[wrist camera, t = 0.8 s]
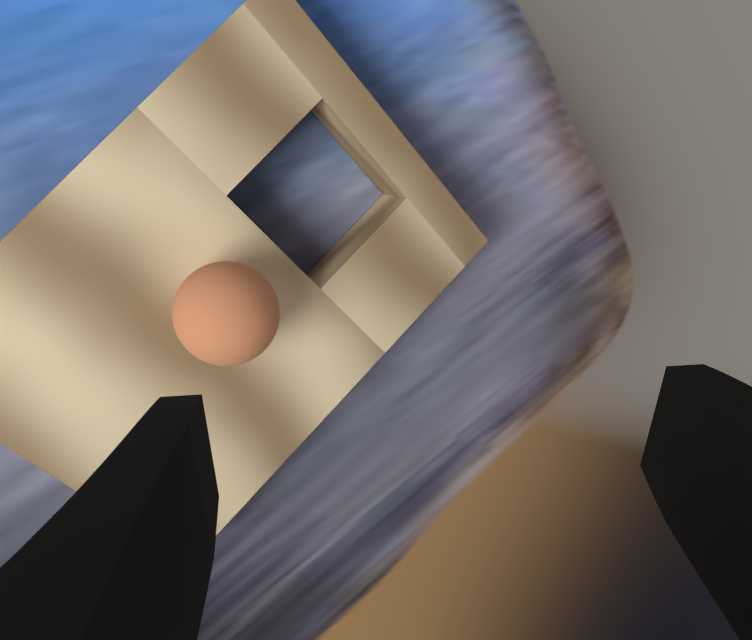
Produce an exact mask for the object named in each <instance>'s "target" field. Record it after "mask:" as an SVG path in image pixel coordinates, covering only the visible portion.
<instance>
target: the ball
mask: <svg viewBox="0 0 752 640" xmlns="http://www.w3.org/2000/svg"><path fill="white" fill-rule="evenodd" d="M172 320H173V326H174V330H175V332H176V335H177V337H178V338H179V340H180V342H181V343H182V345H183V346H184V347H185V348H186V349H187V350H188V351H189V352H190V353H191V354H192V355H193V356H195V357H196V358H198V359H200V360H202V361H204V362H206V363H209V364H212V365H217V366H234V365H239V364H243V363H246V362H248V361H251V360H252V359H254V358H256V357H257V356H259V355H260V354H261V353H262V352H263V351H264V350H266V348H267V347H268V346H269V345H270V343H271V342H272V340H273V339H274V336H275V334H276V332H277V329H278V326H279V321H280V308H279V302H278V298H277V296H276V293H275V291H274V289H273V287H272V286H271V284H270V283H269V282H268V280H267V279H266V278H265V277H264V276H263V275H262V274H260V273H259V272H258V271H256V270H255V269H253V268H251V267H249V266H247V265H245V264H241V263H238V262H232V261H221V262H214V263H210V264H207V265H205V266H202V267H200V268H199V269H197V270H195V271H194V272H193V273H191V274H190V275H189V276H188V277H187V278H186V279H185V280H184V281H183V283H182V284H181V285H180V287H179V289H178V291H177V293H176V295H175V298H174V301H173V307H172Z"/></svg>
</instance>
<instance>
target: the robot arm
mask: <svg viewBox="0 0 752 640" xmlns="http://www.w3.org/2000/svg"><path fill="white" fill-rule="evenodd" d="M640 466H641V468H642V470H643V473H644V475H645V477H646V480H647V482H648V484H649V487H650V489H651V491H652V494H653V496H654V498H655V500H656V502H657V504H658V506H659V509H660V511H661V513H662V515H663V517H664V519H665V521H666V523H667V525H668V526H669V528H670V530H671V531H672V533H673V535H674V536H675V538H676V540H677V541H678V543H679V544H680V546H681V547H682V549H683V551H684V552H685V554H686V556H687V557H688V559H689V560H690V562H691V564H692V565H693V567H694V568H695V570H696V572H697V573H698V575H699V576H700V578H701V580H702V581H703V583H704V584H705V586H706V588H707V589H708V591H709V592H710V594H711V595H712V597H713V598H714V600H715V602H716V603H717V605H718V606H719V608H720V610H721V611H722V613H723V614H724V616H725V617H726V619H727V621H728V622H729V624H730V625H731V627H732V628H733V630H734V632H735V633H736V635H737V636H738V638H739V640H752V387H751V386H749V385H747V384H745V383H743V382H741V381H739V380H737V379H735V378H733V377H731V376H729V375H726V374H725V373H723V372H720V371H718V370H716V369H714V368H711V367H709V366H706V365H704V364H699V365H683V366H667V367H666V370H665V374H664V378H663V382H662V385H661V389H660V393H659V397H658V400H657V404H656V408H655V412H654V415H653V420H652V423H651V427H650V431H649V435H648V438H647V442H646V446H645V450H644V453H643V458H642V461H641V465H640ZM218 504H219V493H218V487H217V481H216V475H215V469H214V463H213V457H212V451H211V445H210V440H209V434H208V428H207V422H206V416H205V410H204V404H203V398H202V394H199V395H183V396H166V397H159V398H158V399H157V401H156V402H155V403H154V404H153V405H152V406H151V407H150V408H149V409H148V410H147V412H146V413H145V414H144V415H143V416H142V417H141V419H140V420H139V421H138V422H137V423H136V424H135V426H134V427H133V428H132V429H131V430H130V432H129V433H128V434H127V435H126V436H125V437H124V439H123V440H122V441H121V442H120V443H119V444H118V445H117V447H116V448H115V449H114V450H113V451H112V452H111V454H110V455H109V456H108V457H107V458H106V459H105V460H104V462H103V463H102V464H101V465H100V466H99V467H98V468H97V469H96V470H95V472H94V473H93V474H92V475H91V476H90V477H89V478H88V479H87V480H86V481H85V483H84V484H83V485H82V486H81V487H80V488H79V489H78V490H77V491H76V492H75V494H74V495H73V496H72V497H71V498H70V499H69V500H68V501H67V502H66V503H65V504H64V505H63V506H62V507H61V508H60V509H59V510H58V511H57V512H56V513H55V514H54V515H53V516H52V518H51V519H50V520H49V521H48V522H47V523H46V524H45V525H44V526H43V527H42V528H41V529H40V530H39V531H38V532H37V533H36V534H35V535H34V536H33V537H32V538H31V539H30V540H29V541H28V542H27V543H26V544H25V545H24V546H23V547H22V548H21V549H20V550H19V551H18V552H17V553H16V554H14V555H13V556H12V557H11V558H10V559H9V560H8V561H7V562H6V563H5V564H4V565H3V566H2V567H1V568H0V640H197V637H198V632H199V627H200V623H201V618H202V613H203V608H204V604H205V599H206V594H207V589H208V584H209V579H210V575H211V569H212V564H213V559H214V550H215V539H216V529H217V516H218Z"/></svg>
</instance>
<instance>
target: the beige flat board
mask: <svg viewBox="0 0 752 640" xmlns="http://www.w3.org/2000/svg"><path fill="white" fill-rule="evenodd" d="M310 110H311V111H312V113H313V114H314V115H315V116H316V117H317V118H318V120H319V121H320V122H321V123H322V124H323V125H324V126H325V128H326V129H327V130H328V131H329V132H330V133H331V135H332V136H333V137H334V138H335V139H336V140H337V142H338V143H339V144H340V145H341V146H342V147H343V148H344V150H345V151H346V152H347V153H348V154H349V155H350V157H351V158H352V159H353V160H354V161H355V162H356V164H357V165H358V166H359V167H360V168H361V169H362V170H363V172H364V173H365V174H366V175H367V176H368V177H369V179H370V180H371V181H372V182H373V183H374V184H375V186H376V187H377V188H378V189H379V190H380V191H381V192H382V194H383V195H382V196H381V197H380V198H379V199H378V200H377V201H376V202H375V204H374V205H373V206H372V207H371V208H370V209H369V210H368V211H367V212H366V213H365V214H364V215H363V216H362V217H361V218H360V219H359V220H358V221H357V222H356V223H355V224H354V226H353V227H352V228H351V229H350V230H349V231H348V232H347V233H346V234H345V235H344V236H343V237H342V238H341V239H340V240H339V241H338V242H337V243H336V244H335V245H334V246H333V248H332V249H331V250H330V251H329V252H328V253H327V254H326V255H325V256H324V257H323V258H322V259H321V260H320V261H319V262H318V263H317V264H316V265H315V266H314V267H313V269H312V270H311V271H310V272H309V273H308V274H307V275H306V274H305V273H304V272H303V271H302V270H301V269H300V268H299V267H298V266H297V265H296V264H295V263H294V262H293V261H292V260H291V259H290V258H289V257H288V256H287V255H286V254H285V253H284V252H283V251H282V250H281V249H280V248H279V247H278V246H277V245H276V244H275V243H274V242H273V241H272V240H271V239H270V238H269V237H268V236H267V235H266V234H265V233H264V232H262V231H261V230H260V229H259V228H258V227H257V226H256V225H255V224H254V223H253V222H252V221H251V220H250V219H249V218H248V217H247V216H246V215H245V214H244V213H243V212H242V211H241V210H240V209H239V208H238V207H237V206H236V205H235V204H234V203H233V202H232V201H231V200H230V199H229V198H228V197H227V195H228V194H229V193H230V192H231V191H232V189H233V188H234V187H235V186H236V185H237V184H238V183H239V182H240V181H241V180H242V179H243V178H244V177H245V176H246V175H247V174H248V173H249V172H250V171H251V170H252V169H253V168H254V167H255V166H256V165H257V164H258V163H259V162H260V161H261V160H262V159H263V158H264V157H265V156H266V155H267V154H268V153H269V152H270V151H271V150H272V149H273V148H274V147H275V146H276V145H277V144H278V143H279V142H280V141H281V140H282V139H283V138H284V137H285V136H286V135H287V134H288V133H289V132H290V131H291V130H292V129H293V128H294V127H295V126H296V125H297V124H298V123H299V121H300V120H301V119H302V118H303V117H304V116H305V115H306V114H307V113H308V112H309V111H310ZM487 242H488V240H487V239H486V237H485V236H484V235H483V234H482V232H481V231H480V230H479V229H478V227H477V226H476V225H475V224H474V222H473V221H472V220H471V219H470V217H469V216H468V215H467V214H466V212H465V211H464V210H463V209H462V207H461V206H460V205H459V204H458V202H457V201H456V200H455V199H454V197H453V196H452V195H451V194H450V192H449V191H448V190H447V189H446V187H445V186H444V185H443V184H442V182H441V181H440V180H439V179H438V177H437V176H436V175H435V174H434V172H433V171H432V170H431V169H430V167H429V166H428V165H427V164H426V162H425V161H424V160H423V159H422V157H421V156H420V155H419V154H418V152H417V151H416V150H415V149H414V148H413V146H412V145H411V144H410V143H409V141H408V140H407V139H406V138H405V136H404V135H403V134H402V133H401V131H400V130H399V129H398V128H397V126H396V125H395V124H394V123H393V121H392V120H391V119H390V118H389V116H388V115H387V114H386V113H385V111H384V110H383V109H382V108H381V106H380V105H379V104H378V103H377V101H376V100H375V99H374V98H373V96H372V95H371V94H370V93H369V91H368V90H367V89H366V88H365V86H364V85H363V84H362V83H361V81H360V80H359V79H358V78H357V76H356V75H355V74H354V73H353V71H352V70H351V69H350V68H349V66H348V65H347V64H346V63H345V61H344V60H343V59H342V58H341V56H340V55H339V54H338V53H337V51H336V50H335V49H334V48H333V46H332V45H331V44H330V43H329V41H328V40H327V39H326V38H325V36H324V35H323V34H322V33H321V31H320V30H319V29H318V28H317V26H316V25H315V24H314V23H313V22H312V20H311V19H310V18H309V17H308V15H307V14H306V13H305V12H304V10H303V9H302V8H301V7H300V5H299V4H298V3H297V2H296V0H246V1H245V2H244V3H243V4H242V5H241V6H240V7H239V8H238V9H237V10H236V11H235V12H234V13H233V14H232V15H231V16H230V17H229V18H228V19H227V20H226V21H225V22H224V23H223V24H222V25H221V26H220V27H219V28H218V29H217V30H216V31H215V32H214V33H213V34H212V35H211V36H210V37H209V38H208V39H207V40H205V41H204V42H203V43H202V44H201V45H200V46H199V47H198V48H197V49H196V50H195V51H194V52H193V53H192V54H191V55H190V56H189V57H188V58H187V59H186V60H185V61H184V62H183V63H182V64H181V65H180V66H179V67H178V68H177V69H176V70H175V71H174V72H173V73H172V74H171V75H170V76H169V77H168V78H167V79H166V80H165V81H164V82H163V83H162V84H161V85H160V86H159V87H157V88H156V89H155V90H154V91H153V92H152V93H151V94H150V95H149V96H148V97H147V98H146V99H145V100H144V101H143V102H142V103H141V104H140V105H139V106H138V107H137V108H136V109H135V110H134V111H133V112H132V113H131V114H130V115H129V116H128V117H127V118H126V119H125V120H124V121H123V122H122V123H121V124H120V125H119V126H118V127H117V128H116V129H115V130H114V131H113V132H112V133H111V134H109V135H108V136H107V137H106V138H105V139H104V140H103V141H102V142H101V143H100V144H99V145H98V146H97V147H96V148H95V149H94V150H93V151H92V152H91V153H90V154H89V155H88V156H87V157H86V158H85V159H84V160H83V161H82V162H81V163H80V164H79V165H78V166H77V167H76V168H75V169H74V170H73V171H72V172H71V173H70V174H69V175H68V176H67V177H66V178H65V179H64V180H63V181H61V182H60V183H59V184H58V185H57V186H56V187H55V188H54V189H53V190H52V191H51V192H50V193H49V194H48V195H47V196H46V197H45V198H44V199H43V200H42V201H41V202H40V203H39V204H38V205H37V206H36V207H35V208H34V209H33V210H32V211H31V212H30V213H29V214H28V215H27V216H26V217H25V218H24V219H23V220H22V221H21V222H20V223H19V224H18V225H17V226H16V227H15V228H14V229H12V230H11V231H10V232H9V233H8V234H7V235H6V236H5V237H4V238H3V239H2V240H1V241H0V443H1V444H3V445H4V446H6V447H7V448H9V449H11V450H12V451H14V452H15V453H17V454H18V455H20V456H22V457H23V458H25V459H26V460H28V461H29V462H31V463H33V464H34V465H36V466H37V467H39V468H41V469H42V470H44V471H45V472H47V473H48V474H50V475H52V476H53V477H55V478H56V479H58V480H59V481H61V482H63V483H64V484H66V485H67V486H69V487H70V488H72V489H74V490H75V491H77V490H78V489H79V488H80V487H81V486H82V485H83V484H84V483H85V481H86V480H87V479H88V478H89V477H90V476H91V475H92V474H93V473H94V472H95V470H96V469H97V468H98V467H99V466H100V465H101V464H102V463H103V462H104V460H105V459H106V458H107V457H108V456H109V455H110V454H111V452H112V451H113V450H114V449H115V448H116V447H117V445H118V444H119V443H120V442H121V441H122V440H123V439H124V437H125V436H126V435H127V434H128V433H129V432H130V430H131V429H132V428H133V427H134V426H135V424H136V423H137V422H138V421H139V420H140V419H141V417H142V416H143V415H144V414H145V413H146V412H147V410H148V409H149V408H150V407H151V406H152V405H153V404H154V403H155V402H156V401H157V399H158V398H159V397H166V396H183V395H199V394H202V398H203V404H204V410H205V416H206V422H207V428H208V434H209V440H210V445H211V451H212V457H213V463H214V469H215V475H216V481H217V487H218V493H219V504H218V516H217V529H216V535H217V534H218V533H219V532H220V531H221V530H222V529H223V528H224V527H225V526H226V524H227V523H228V522H229V521H230V520H231V519H232V518H233V517H234V516H235V515H236V514H237V513H238V511H239V510H240V509H241V508H242V507H243V506H244V505H245V504H246V503H247V502H248V501H249V500H250V498H251V497H252V496H253V495H254V494H255V493H256V492H257V491H258V490H259V489H260V488H261V487H262V485H263V484H264V483H265V482H266V481H267V480H268V479H269V478H270V477H271V476H272V475H273V474H274V473H275V471H276V470H277V469H278V468H279V467H280V466H281V465H282V464H283V463H284V462H285V461H286V460H287V458H288V457H289V456H290V455H291V454H292V453H293V452H294V451H295V450H296V449H297V448H298V447H299V445H300V444H301V443H302V442H303V441H304V440H305V439H306V438H307V437H308V436H309V435H310V434H311V432H312V431H313V430H314V429H315V428H316V427H317V426H318V425H319V424H320V423H321V422H322V421H323V419H324V418H325V417H326V416H327V415H328V414H329V413H330V412H331V411H332V410H333V409H334V408H335V407H336V405H337V404H338V403H339V402H340V401H341V400H342V399H343V398H344V397H345V396H346V395H347V394H348V392H349V391H350V390H351V389H352V388H353V387H354V386H355V385H356V384H357V383H358V382H359V381H360V379H361V378H362V377H363V376H364V375H365V374H366V373H367V372H368V371H369V370H370V369H371V368H372V366H373V365H374V364H375V363H376V362H377V361H378V360H379V359H380V358H381V357H382V356H383V355H384V353H385V352H386V351H387V350H388V349H389V348H390V347H391V346H392V345H393V344H394V343H395V342H396V341H397V339H398V338H399V337H400V336H401V335H402V334H403V333H404V332H405V331H406V330H407V329H408V328H409V326H410V325H411V324H412V323H413V322H414V321H415V320H416V319H417V318H418V317H419V316H420V315H421V313H422V312H423V311H424V310H425V309H426V308H427V307H428V306H429V305H430V304H431V303H432V302H433V300H434V299H435V298H436V297H437V296H438V295H439V294H440V293H441V292H442V291H443V290H444V289H445V287H446V286H447V285H448V284H449V283H450V282H451V281H452V280H453V279H454V278H455V277H456V276H457V275H458V273H459V272H460V271H461V270H462V269H463V268H464V267H465V266H466V265H467V264H468V263H469V262H470V260H471V259H472V258H473V257H474V256H475V255H476V254H477V253H478V252H479V251H480V250H481V249H482V247H483V246H484V245H485V244H486V243H487ZM221 261H232V262H238V263H241V264H245V265H247V266H249V267H251V268H253V269H255V270H256V271H258V272H259V273H260V274H262V275H263V276H264V277H265V278H266V279H267V280H268V282H269V283H270V284H271V286H272V287H273V289H274V291H275V293H276V296H277V298H278V302H279V308H280V321H279V326H278V329H277V332H276V334H275V336H274V339H273V340H272V342H271V343H270V345H269V346H268V347H267V348H266V350H264V351H263V352H262V353H261V354H260V355H259V356H257V357H256V358H254V359H252V360H251V361H248V362H246V363H243V364H239V365H234V366H217V365H212V364H209V363H206V362H204V361H202V360H200V359H198V358H196V357H195V356H193V355H192V354H191V353H190V352H189V351H188V350H187V349H186V348H185V347H184V346H183V345H182V343H181V342H180V340H179V338H178V337H177V335H176V332H175V330H174V326H173V320H172V307H173V301H174V298H175V295H176V293H177V291H178V289H179V287H180V285H181V284H182V283H183V281H184V280H185V279H186V278H187V277H188V276H189V275H190V274H191V273H193V272H194V271H195V270H197V269H199V268H200V267H202V266H205V265H207V264H210V263H214V262H221Z"/></svg>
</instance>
